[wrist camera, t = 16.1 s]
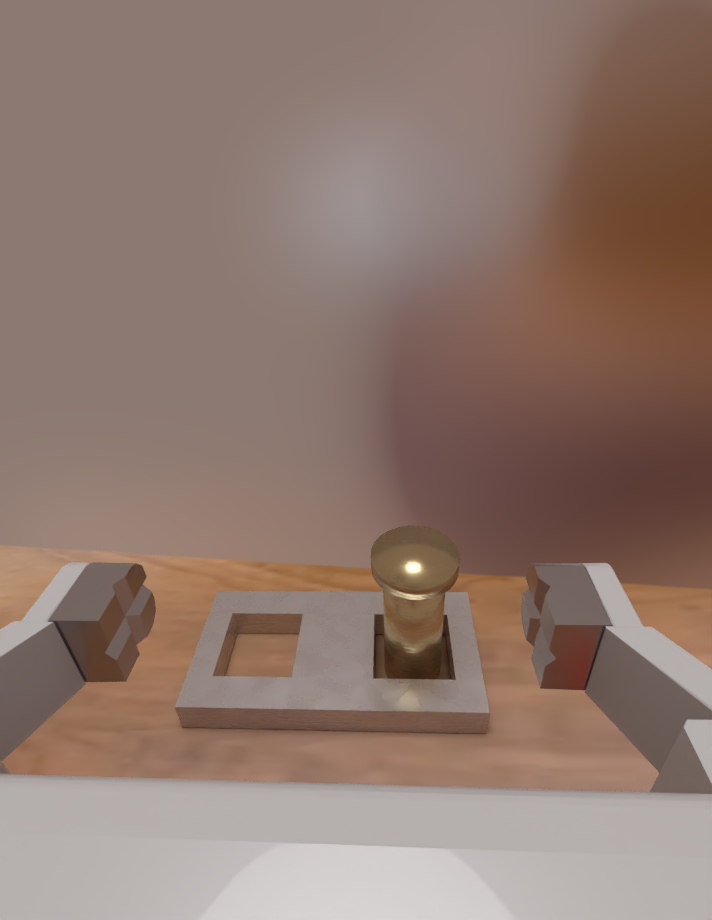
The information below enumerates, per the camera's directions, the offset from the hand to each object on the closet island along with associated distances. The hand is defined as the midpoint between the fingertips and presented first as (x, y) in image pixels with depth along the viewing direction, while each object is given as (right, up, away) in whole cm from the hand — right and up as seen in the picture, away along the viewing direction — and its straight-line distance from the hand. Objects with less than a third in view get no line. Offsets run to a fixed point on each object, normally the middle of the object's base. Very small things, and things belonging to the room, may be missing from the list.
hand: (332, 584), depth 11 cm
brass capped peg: (+5, -14, +30) cm, 34 cm away
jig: (-1, -14, +31) cm, 34 cm away
